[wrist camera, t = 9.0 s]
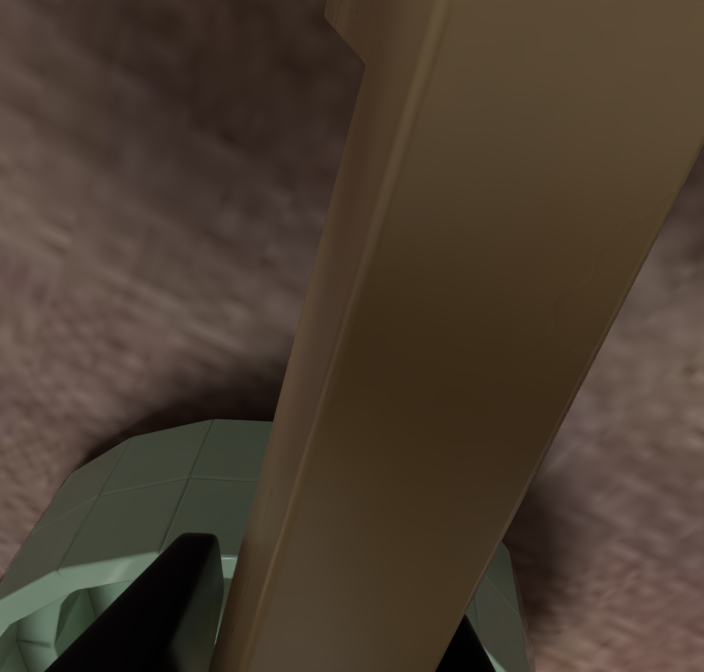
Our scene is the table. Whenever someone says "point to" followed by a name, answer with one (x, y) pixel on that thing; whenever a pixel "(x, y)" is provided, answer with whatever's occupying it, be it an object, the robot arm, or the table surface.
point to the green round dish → (162, 529)
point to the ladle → (454, 309)
